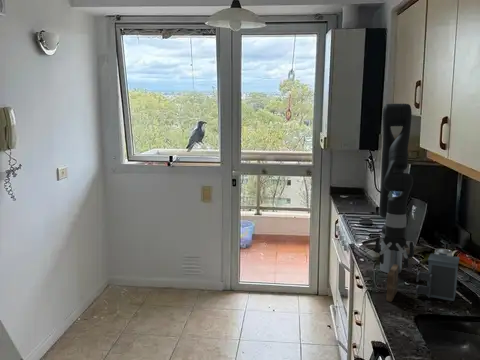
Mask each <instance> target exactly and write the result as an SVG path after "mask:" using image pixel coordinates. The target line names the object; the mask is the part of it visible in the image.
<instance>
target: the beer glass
mask: <svg viewBox="0 0 480 360" xmlns="http://www.w3.org/2000/svg"><path fill="white" fill-rule="evenodd" d="M434 254H439V255H446V256H453V251H452V250H451V249H448V248H447V249H446V248H435V250H434Z"/></svg>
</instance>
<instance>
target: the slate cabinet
mask: <svg viewBox="0 0 480 360" xmlns="http://www.w3.org/2000/svg"><path fill="white" fill-rule="evenodd" d="M427 258H428V259H427V263H428V267H427V272H425V271H417V274H416V283H419V280H421V281H426V285H420V284H416V287H415V296H418V294H425V295H426V296H425V297H428V298H434V299H435V298H436V299H439V300H440V299H441V300H445V301H450V302H452V301H453V302H455V300H456V299H455V298H456V294H457V282H458V272H459V271H458V269H459V262H460V257H459V256H453V255H452V256H446V255H439V254H435V253H433V252H431V253H430V254H429V256H428V257H427Z"/></svg>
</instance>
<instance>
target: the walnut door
mask: <svg viewBox="0 0 480 360" xmlns="http://www.w3.org/2000/svg"><path fill="white" fill-rule="evenodd" d="M398 271H399V265H395V264H393V266H392V268H391V269H390V271H389V272H388V273H387V281H386V300H385V302H389V303H392V302H393V300H394V298H395V297H396V294H397V293H398V285H399V283H398V282H399V273H398Z"/></svg>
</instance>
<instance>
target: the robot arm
mask: <svg viewBox="0 0 480 360" xmlns="http://www.w3.org/2000/svg"><path fill="white" fill-rule="evenodd" d="M412 115H413V114H412V107H411V105H410V104H409V103H386V104H384V106H383V110H382V138H383V139H382V155H381V157H382V158H381V187H380V188H381V189H380V199H379V215H380V217H381V218H383V219H385V225H383V226H382V227H381V236H377V237H376V238H375V245H374V247H375V248H374V252H375V253H377V254H378V255H379V260H378V261H379V270H380V271H381V272H383V273H385V274H386V273H387V274H388V272H389V271H390V269H391V268H392V266H393V264H395V265H399V271H398V274H400V273H401V272H402V263H403V268H406V267H408V265H409V259H410V258H414V256H415V241H414V240H409V241H408V240H407V239H406V232H407V206H408V199H409V195H410V193H411V190H412V188H413V184H414V178H413V175H412V174H410V173H409V172H408V173H407V172H405V170H407V169H408V166H409V165H408V164H409V155H408V154H409V141H410V135H411V127H412ZM391 127H402V129H401V131H400V133H399V134H398V136H396V138H395V137H394V134H393V132H392V129H391ZM390 192H400V193H401V194H400V195H397V196H392V197H390V196H389V194H390ZM406 245H407V247H408V248H409V253H408V252H407V250H406V247H405V246H406ZM403 257H404V258H403Z"/></svg>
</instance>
